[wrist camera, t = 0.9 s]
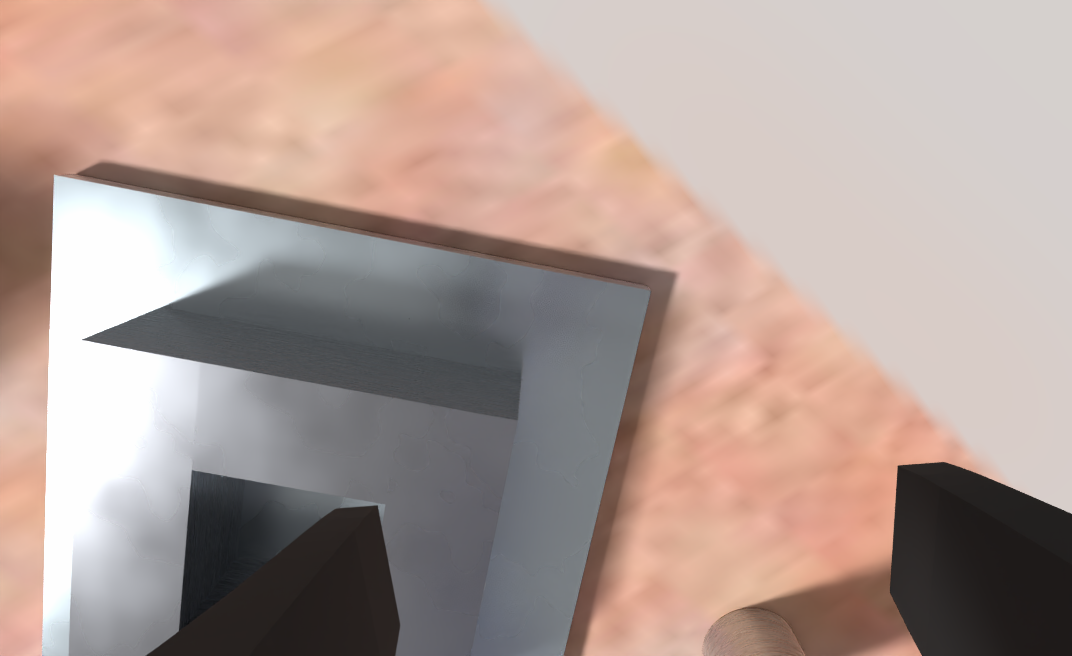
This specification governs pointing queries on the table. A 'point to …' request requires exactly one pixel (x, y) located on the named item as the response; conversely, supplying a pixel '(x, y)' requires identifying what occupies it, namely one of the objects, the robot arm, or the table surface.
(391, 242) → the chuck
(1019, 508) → the robot arm
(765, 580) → the table surface
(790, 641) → the pin
